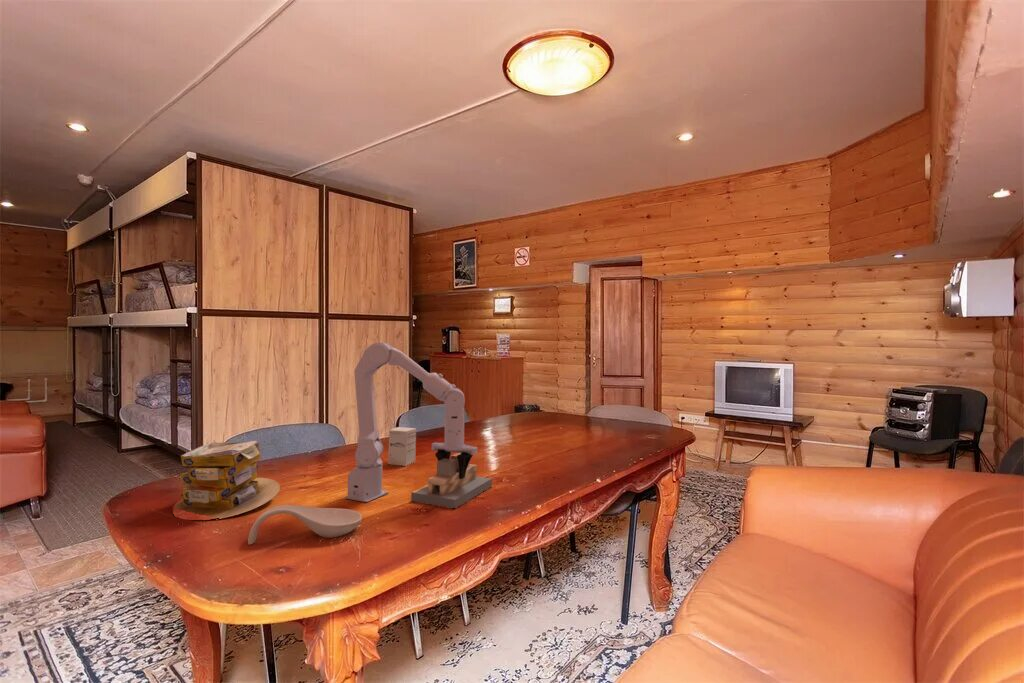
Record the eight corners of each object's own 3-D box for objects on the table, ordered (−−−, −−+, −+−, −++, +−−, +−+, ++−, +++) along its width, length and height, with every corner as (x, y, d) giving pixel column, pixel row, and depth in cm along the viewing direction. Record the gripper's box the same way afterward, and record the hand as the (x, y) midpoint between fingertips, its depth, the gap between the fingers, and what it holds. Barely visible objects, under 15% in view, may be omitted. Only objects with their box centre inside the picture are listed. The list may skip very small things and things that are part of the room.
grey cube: (448, 477, 133) (449, 463, 133) (436, 475, 135) (436, 461, 135) (456, 473, 137) (456, 459, 137) (444, 472, 139) (444, 458, 139)
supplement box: (387, 464, 171) (388, 429, 171) (398, 460, 178) (398, 426, 178) (406, 466, 169) (406, 431, 169) (416, 461, 176) (416, 427, 176)
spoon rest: (360, 520, 118) (361, 491, 118) (363, 539, 107) (363, 507, 107) (253, 533, 110) (253, 502, 110) (244, 554, 99) (244, 520, 99)
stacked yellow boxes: (218, 527, 112) (219, 456, 112) (148, 512, 121) (150, 447, 121) (299, 496, 135) (300, 438, 136) (235, 486, 144) (236, 431, 144)
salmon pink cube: (462, 470, 140) (462, 457, 140) (450, 469, 142) (450, 455, 142) (469, 467, 144) (469, 454, 144) (457, 466, 146) (457, 452, 146)
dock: (454, 509, 127) (454, 499, 127) (411, 501, 132) (411, 491, 132) (491, 486, 147) (491, 478, 147) (452, 480, 152) (452, 472, 152)
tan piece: (443, 495, 130) (443, 480, 130) (428, 493, 132) (428, 478, 132) (476, 478, 147) (476, 465, 147) (462, 475, 149) (462, 463, 149)
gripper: (482, 430, 140) (482, 476, 140) (440, 426, 146) (440, 470, 146) (471, 434, 134) (470, 482, 134) (427, 429, 140) (427, 476, 140)
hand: (453, 476), depth 139 cm, fingers closed on tan piece, 5 cm apart
